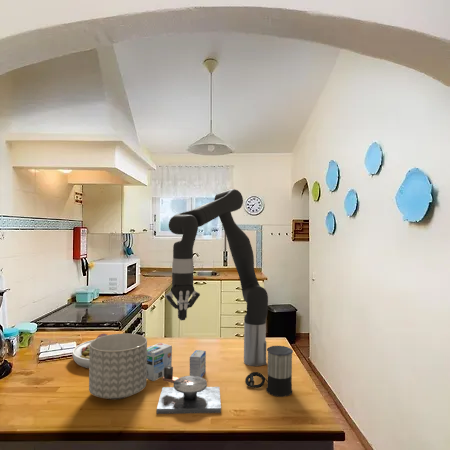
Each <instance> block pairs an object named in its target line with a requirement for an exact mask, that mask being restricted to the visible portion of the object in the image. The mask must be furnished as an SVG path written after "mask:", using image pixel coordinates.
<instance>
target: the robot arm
mask: <svg viewBox="0 0 450 450" xmlns="http://www.w3.org/2000/svg"><path fill="white" fill-rule="evenodd" d="M243 204H244V198H243V195H242V193H241V191H239V190H238V189H235V188H234V189H233V188H232V189H228V190H224V191H221V192H218V193H216V194H215V196H214V199H213V200H212V201H210V202H207V203H204V204H201V205H199V206H197V207H195V208H193V209H191V210H188V211H183V212H179V213H177V214H174V215H173V216H172V217H170V219H169V221H168V229H169V231H170V232H171V233H172V234H175V235H181V236H182V237H181V240H179V241H176V242H174V243H173V246H172V247H173V249H172V265H171V278H172V279H171V288H170V291H169V292H168V293H165V294H164V297H165V299H166V300H167V301H168V302H169V304H170V305H171V306H172V308H173V309H175V310H176V309H177V318H178V319H179V321H185V320H186V319H187V318H188V314H187V313H188V309H190V308H192V307H193V306H194V304H195V303H196V301H197V300H198V299H199V298H200V296H201V294H200V292H198V291H196V290H195V287H194V270H195V268H194V245H195V242H196V237H197V235H198V234H197V233H198V231H199V227H202V226H204V225H207V224H208V223H210V222H211V221H213V220H215V219H217V218H218V217H219V220H220V222H221V224H222V227H223V231H224V233H225V237H226V240H227V243H228V246H229V247H228V248H229V251H230V254H231V255H230V256H231V257H232V261H233V263H234V266H235V269H236V272H237V275H238V278H239V282H240V287H241V291H242V297H243V300H244V302H245V303H246V313H245V315H244V317H243V318H244V322H243V331H244V332H243V363H244V364H245V365H247V366H250V367H261V366H265V365H267V340H266V337H267V336H266V335H267V334H266V331H267V329H266V328H267V327H266V325H267V318H268V311H269V310H268V309H269V307H268V306H269V295H268V292H267V290H266V288H264V287H263V286H261V285H260V284H259V281H258V278H257V275H256V271H255V259H254V258H255V256H254V251H253V248H252V247H253V246H252V244H251V241H250V238H249V237H248V235H247V234H246V233H245V232H244V231H243V230H242V228H240V227H239V226H238V224H237V223H236V222H235V219H234V217H233V215H232V212H236V211H238V210H240V209H241V208H242V206H243ZM173 297H174V298H175V299H176V302H175V301H174V299H173Z"/></svg>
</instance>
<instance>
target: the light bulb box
mask: <svg viewBox="0 0 450 450" xmlns="http://www.w3.org/2000/svg"><path fill="white" fill-rule="evenodd" d="M172 354H173V347H172V345H170V344H167V343H163V342H159V343H158V342H157V343H156V344H154V345H150V346H147V380H149V381H152V382H155V381H157V380H159V379H160V378H163V377H164V367H166V366H172V365H173V364H172V362H173V360H172V359H173V358H172V357H173V355H172ZM172 367H173V366H172Z"/></svg>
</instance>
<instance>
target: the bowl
mask: <svg viewBox="0 0 450 450" xmlns="http://www.w3.org/2000/svg"><path fill="white" fill-rule="evenodd" d="M106 335H108V334H106V333H101V334H99V335H97V337H96V338H99V337H102V336H106ZM93 340H94V339H91V340H89V341H88V340H87V341H84V342H83V343H80V344H77V345H76V346H75V347H74V348H73V349H72V353H71V354H72V359H73V361H74V362H75V363H76V365H78V366H80V367H82V368H85V369H89V353H90V343H91V342H92V341H93Z"/></svg>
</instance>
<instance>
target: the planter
mask: <svg viewBox="0 0 450 450" xmlns="http://www.w3.org/2000/svg"><path fill="white" fill-rule="evenodd" d="M147 339H148V338H147V337H145V336H144V335H141V334H137V333H127V332H126V333H112V334H107V335H106V336H102V337H99V338H97V337H96V338H95V339H92V340H93V341H92V342H91V343H90V353H89V368H88V370H89V371H88V391H89V393H90V394H91V395H92V396H94V397H97V398H100V399H107V400H113V401H114V400H123V399H126V398H128V397H131V396H133V395H136V394H137V393H138V394H139V393H140V392H141V391H143V390H144V389H145V387H146V386H147V381H148V379H147V348H148V340H147Z"/></svg>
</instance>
